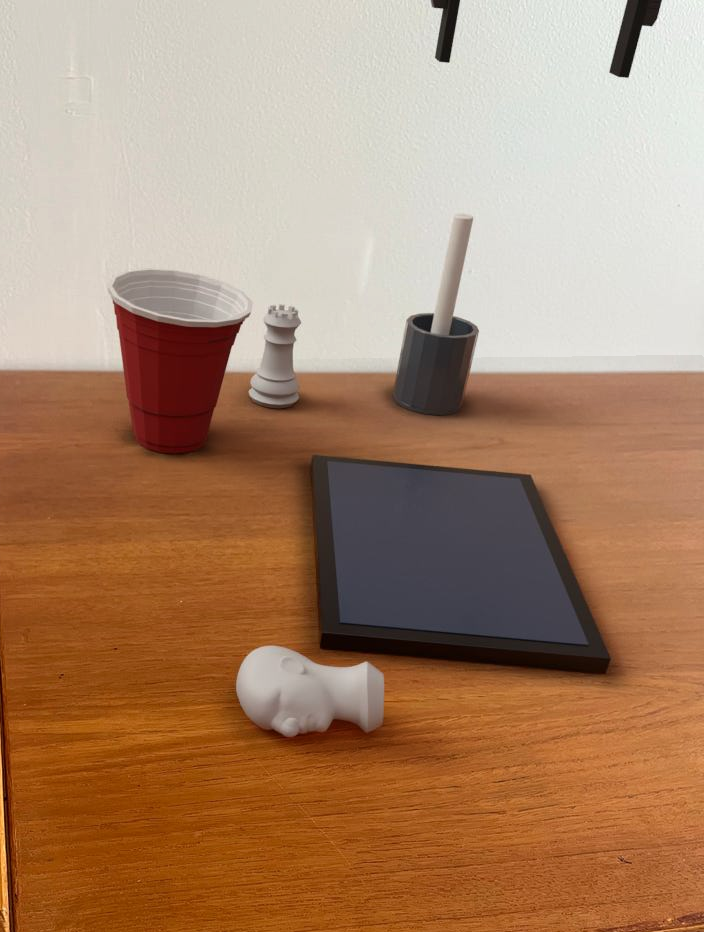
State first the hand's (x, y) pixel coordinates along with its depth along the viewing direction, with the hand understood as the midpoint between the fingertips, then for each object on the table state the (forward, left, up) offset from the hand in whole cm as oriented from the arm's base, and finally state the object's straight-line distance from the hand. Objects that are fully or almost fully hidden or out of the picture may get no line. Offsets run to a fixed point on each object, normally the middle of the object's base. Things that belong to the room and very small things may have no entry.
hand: (530, 68), depth 79 cm
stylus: (+3, +1, -26) cm, 27 cm away
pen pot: (+3, +1, -27) cm, 27 cm away
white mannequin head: (+15, +48, -27) cm, 57 cm away
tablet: (+5, +29, -27) cm, 40 cm away
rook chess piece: (+17, +4, -27) cm, 32 cm away
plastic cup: (+25, +14, -27) cm, 39 cm away
